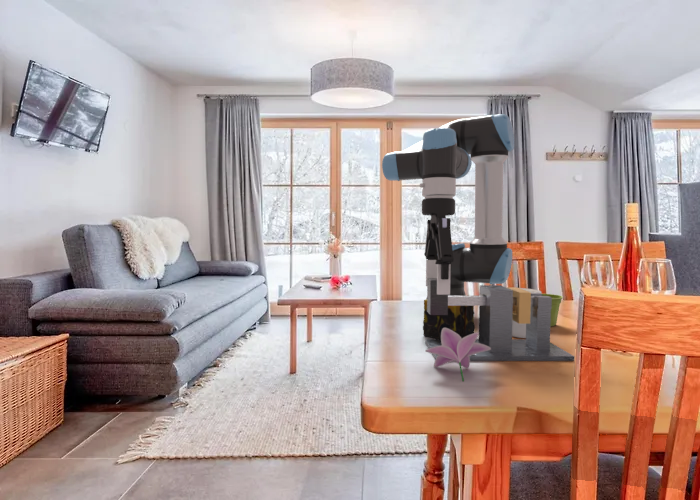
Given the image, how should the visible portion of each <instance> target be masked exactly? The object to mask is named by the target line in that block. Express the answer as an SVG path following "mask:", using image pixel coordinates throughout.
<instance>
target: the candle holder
mask: <svg viewBox="0 0 700 500" xmlns="http://www.w3.org/2000/svg"><path fill="white" fill-rule="evenodd" d="M519 288H520V289H523V290H525V291H528V292H531V293H541V294H543V293H542V291H541V290H539V289H534V288H525V287H519ZM512 338H518V339H526V324H519V323H517V322H515V321H514V320H512Z"/></svg>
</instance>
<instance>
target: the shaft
mask: <svg viewBox="0 0 700 500" xmlns="http://www.w3.org/2000/svg"><path fill="white" fill-rule="evenodd" d="M426 287H427V289H426V290H427V291H426V293H427V295H426V298H427V312H428V313H429V314H430V315H448V306H474V307H475V306H476V307H479V306H486V297H487V296H479V295H466V296H448V295H437V278H427V286H426ZM534 298H535V296H531V306H534ZM513 306H517V298H516V297H513Z"/></svg>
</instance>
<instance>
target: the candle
mask: <svg viewBox="0 0 700 500" xmlns="http://www.w3.org/2000/svg"><path fill="white" fill-rule="evenodd" d="M474 309H475V306H448V315H430V314H429V313H428V312H427V299H424V300H423V320H422V321H423V322H422V330H423V336H424V337H426V338H429V339H430V338H431V339H441V331H442V329H443V328H448V329H450V330H452V331H454V332H456V333H457V334H458V335H459V336H460V337H461V338H464V337H465V336H468V335H470V334H473V333H475V328H476V327H475V310H474Z"/></svg>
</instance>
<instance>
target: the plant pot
mask: <svg viewBox="0 0 700 500" xmlns="http://www.w3.org/2000/svg"><path fill="white" fill-rule="evenodd" d="M542 294H543V296H549V297H552V308H551V323H550V327H554V326H557V323H558V322H557V321H558V318H559V317H558V316H559V310H560V305H561V303H562V300H563V299H564V297H563V295H559V294H553V293H552V294H551V293H542Z"/></svg>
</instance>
